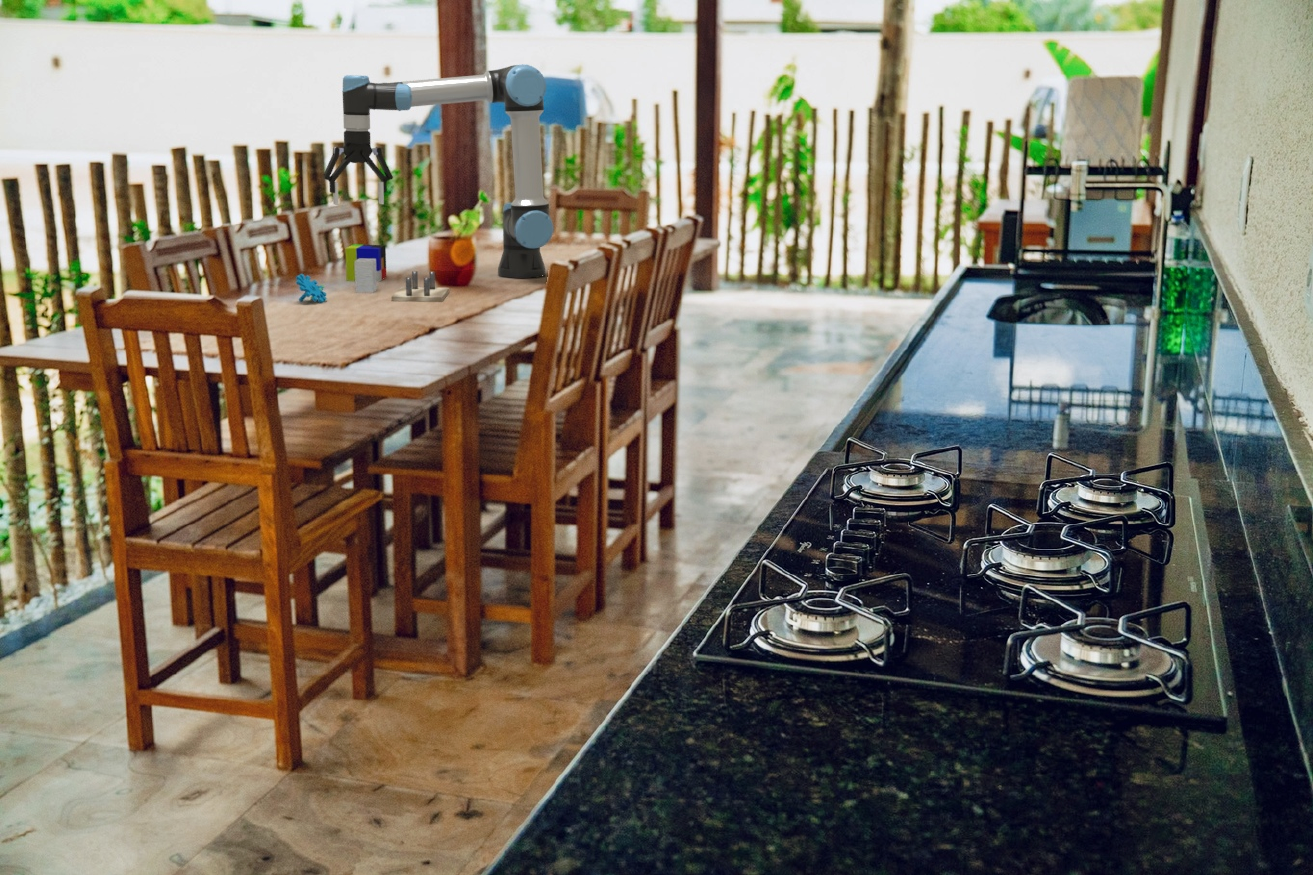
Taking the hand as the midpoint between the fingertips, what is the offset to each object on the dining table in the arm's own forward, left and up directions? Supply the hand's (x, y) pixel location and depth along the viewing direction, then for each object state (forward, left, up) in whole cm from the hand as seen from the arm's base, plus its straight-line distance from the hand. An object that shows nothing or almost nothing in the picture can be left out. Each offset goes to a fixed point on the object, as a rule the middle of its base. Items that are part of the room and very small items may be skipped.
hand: (358, 204), depth 389 cm
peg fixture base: (-20, +19, -24) cm, 37 cm away
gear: (+8, +31, -24) cm, 40 cm away
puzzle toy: (+1, -14, -24) cm, 28 cm away
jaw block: (-3, +10, -24) cm, 26 cm away
